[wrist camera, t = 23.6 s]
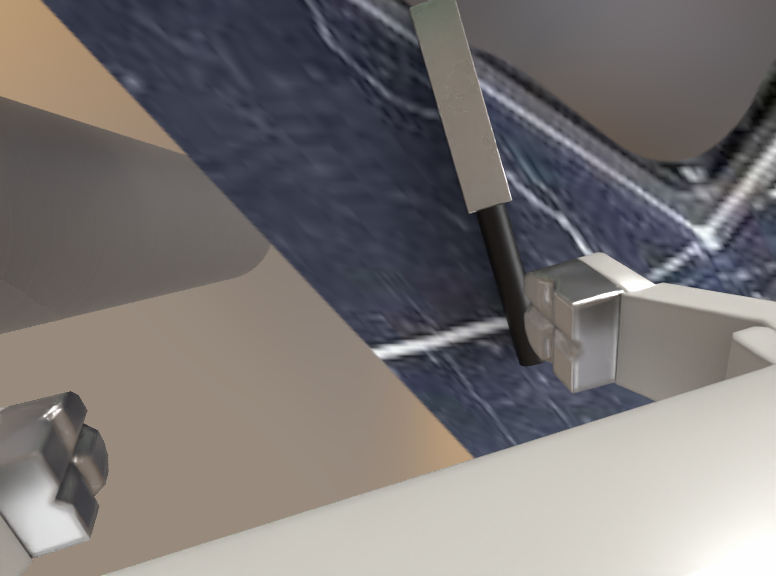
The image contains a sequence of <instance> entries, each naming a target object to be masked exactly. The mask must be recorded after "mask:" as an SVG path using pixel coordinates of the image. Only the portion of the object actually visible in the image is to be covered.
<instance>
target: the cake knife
mask: <svg viewBox="0 0 776 576" xmlns="http://www.w3.org/2000/svg"><path fill="white" fill-rule="evenodd" d="M409 9H410V17H411V20H412V24H413V27H414V31H415V34H416V38H417V41H418V44H419V48H420V51H421V55H422V58H423V62H424V65H425V69H426V72H427V76H428V79H429V82H430V86H431V89H432V93H433V96H434V100H435V103H436V107H437V110H438V114H439V117H440V120H441V124H442V127H443V131H444V134H445V138H446V141H447V145H448V148H449V152H450V155H451V159H452V162H453V165H454V169H455V172H456V176H457V179H458V183H459V186H460V190H461V193H462V197H463V200H464V203H465V207H466V210H467V214H470V213H474V212H476V214H477V218H478V221H479V225H480V228H481V232H482V235H483V239H484V242H485V246H486V249H487V253H488V256H489V259H490V263H491V266H492V270H493V273H494V277H495V280H496V284H497V287H498V291H499V294H500V298H501V301H502V305H503V308H504V312H505V315H506V319H507V322H508V325H509V329H510V332H511V336H512V339H513V343H514V346H515V350H516V353H517V357H518V360H519V364H520V365H521V366H532V365H537V364H540V363H542V362H544V361H545V360H542V359H540V357H539V356H538V355H537V354H536V353H535V352H534V350H533V348H532V347H531V345H530V343H529V340H528V337H527V334H526V331H525V321H524V313H525V312H526V310H527V308H528V306H529V305H530V303H531V301H530V300H529V299H528V298H527V297H526V296H525V295H524V294H523V280H524V276H525V272H524V269H523V265H522V262H521V258H520V255H519V251H518V248H517V244H516V241H515V237H514V234H513V230H512V226H511V223H510V219H509V216H508V212H507V209H506V205H505V203H506V202H509V201H512V198H511V194H510V191H509V187H508V184H507V180H506V177H505V173H504V170H503V166H502V163H501V159H500V155H499V152H498V148H497V145H496V141H495V138H494V134H493V131H492V127H491V124H490V120H489V116H488V113H487V109H486V106H485V102H484V99H483V95H482V92H481V88H480V85H479V81H478V77H477V74H476V70H475V67H474V63H473V60H472V56H471V53H470V49H469V46H468V42H467V39H466V35H465V31H464V28H463V24H462V21H461V17H460V14H459V10H458V7H457V3H456V0H430V1H427V2H424V3H421V4H418V5H415V6H412V7H410V8H409Z"/></svg>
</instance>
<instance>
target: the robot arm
mask: <svg viewBox="0 0 776 576" xmlns="http://www.w3.org/2000/svg"><path fill="white" fill-rule="evenodd" d="M523 294H524V295H525V296H526V297H527V298H528V299H529V300H530V301H531V303H530V305H529V306H528V308H527V310H526V312H525V313H524V321H525V331H526V334H527V337H528V340H529V343H530V345H531V347H532V348H533V350H534V352H535V353H536V354H537V355H538V356H539V357H540V359H542V360H545V361H548V362H551V363H553V373H554V374H555V375H556V376H557V377H558V378H559V379H560V380H561V382H562V383H563V384H564V385H565V386H566V387H567V388H568V389H569V390H570V391H571V392H572V393H576V392H580V391H583V390H587V389H591V388H594V387H598V386H602V385H605V384H609V383H613V382H616V384H618V385H620V386H622V387H624V388H627V389H629V390H631V391H634V392H636V393H638V394H641V395H643V396H645V397H648V398H650V399H652V400H654V401H657V402H654V403H651V404H647V405H644V406H641V407H638V408H635V409H631V410H628V411H625V412H622V413H619V414H616V415H612V416H609V417H606V418H603V419H600V420H596V421H593V422H590V423H587V424H584V425H580V426H577V427H574V428H571V429H568V430H565V431H561V432H558V433H555V434H552V435H549V436H545V437H542V438H539V439H536V440H533V441H529V442H526V443H523V444H520V445H517V446H514V447H510V448H507V449H504V450H501V451H498V452H494V453H491V454H488V455H485V456H482V457H478V458H475V459H472V460H469V461H466V462H463V463H460V464H456V465H453V466H450V467H447V468H443V469H441V470H437V471H434V472H431V473H427V474H424V475H421V476H418V477H415V478H412V479H409V480H405V481H402V482H399V483H396V484H392V485H389V486H386V487H383V488H380V489H376V490H373V491H370V492H367V493H364V494H360V495H357V496H354V497H351V498H348V499H344V500H341V501H338V502H335V503H332V504H329V505H326V506H322V507H319V508H316V509H313V510H309V511H306V512H303V513H300V514H297V515H294V516H290V517H287V518H284V519H281V520H278V521H275V522H271V523H268V524H265V525H261V526H258V527H255V528H252V529H249V530H245V531H242V532H239V533H236V534H233V535H230V536H226V537H223V538H220V539H217V540H214V541H211V542H207V543H204V544H201V545H198V546H194V547H191V548H188V549H185V550H182V551H179V552H175V553H172V554H169V555H166V556H163V557H159V558H156V559H153V560H150V561H146V562H144V563H140V564H137V565H134V566H131V567H128V568H124V569H121V570H118V571H115V572H111V573H108V574H105V575H102V576H776V302H773V301H767V300H761V299H756V298H750V297H744V296H738V295H732V294H726V293H720V292H714V291H708V290H702V289H696V288H691V287H685V286H679V285H673V284H667V283H660V284H656V285H655V284H653V283H651V282H650V281H648V280H647V279H645V278H643V277H642V276H640V275H638V274H637V273H635V272H634V271H632V270H630V269H629V268H627V267H625V266H624V265H622V264H621V263H619V262H617V261H616V260H614V259H612V258H611V257H609V256H608V255H606V254H604V253H593V254H590V255H587V256H584V257H580V258H577V259H573V260H570V261H566V262H563V263H559V264H556V265H552V266H549V267H545V268H542V269H538V270H535V271H531V272H529V273H526V274H525V276H524V280H523ZM86 413H87V409H86V407H85V405H84V404H83V402H82V400H81V399H80V397H79V395H77V394H75V393H73V392H71V391H70V392H66V393H62V394H58V395H54V396H50V397H45V398H41V399H37V400H33V401H29V402H25V403H21V404H16V405H13V406H9V407H2V408H0V576H21V575H22V574H23V573H24V571H25V570H26V569H27V568H28V566H29V565H30V564H31V563H32V561H33V560H32V558H35V557H38V556H41V555H44V554H47V553H50V552H53V551H56V550H59V549H62V548H65V547H69V546H71V545H74V544H78V543H81V542H83V541H87V540H89V539H90V537H91V534H92V530H93V527H94V523H95V520H96V516H97V513H98V509H99V504H98V503H97V501H96V499H95V498H94V496H95V495H96V494H97V493H98V492H99V491H100V490H101V489H102V488H103V487H104V486H105V484H106V479H107V476H108V454H107V451H106V447H105V444H104V441H103V439H102V437H101V435H100V433H99V432H98V430H96V429H94V428H92V427H90V426H88V425H86V424H84V423H83V422H84V420H85V416H86Z"/></svg>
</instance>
